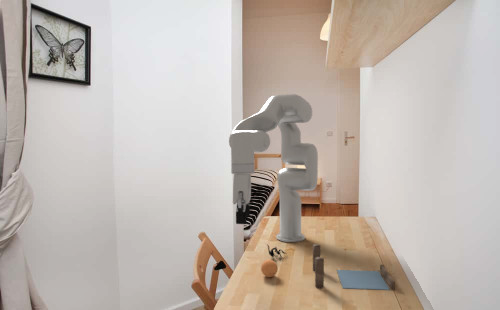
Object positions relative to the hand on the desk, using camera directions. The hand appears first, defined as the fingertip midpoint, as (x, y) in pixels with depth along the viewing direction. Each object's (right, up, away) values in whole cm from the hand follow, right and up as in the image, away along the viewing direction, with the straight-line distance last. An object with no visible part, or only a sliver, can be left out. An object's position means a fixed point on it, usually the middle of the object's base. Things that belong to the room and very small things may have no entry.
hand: (243, 220), depth 120 cm
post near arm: (+25, -19, +6) cm, 32 cm away
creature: (+13, -18, +19) cm, 29 cm away
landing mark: (+39, -19, -2) cm, 43 cm away
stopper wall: (+47, -19, -3) cm, 50 cm away
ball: (+9, -16, +1) cm, 19 cm away
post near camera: (+24, -20, -7) cm, 32 cm away
